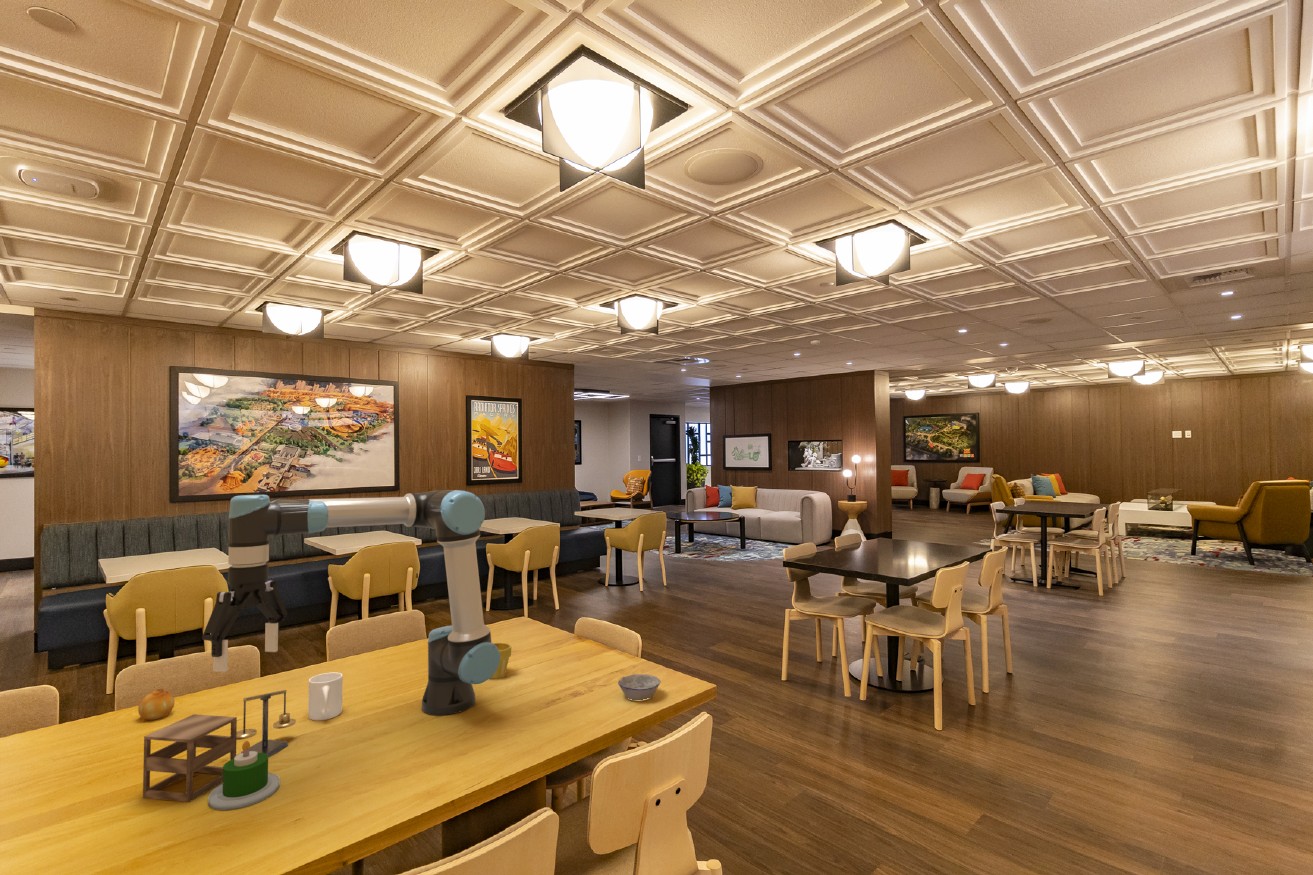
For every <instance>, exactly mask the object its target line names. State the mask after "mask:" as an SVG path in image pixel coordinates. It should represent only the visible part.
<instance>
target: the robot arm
mask: <svg viewBox="0 0 1313 875" xmlns="http://www.w3.org/2000/svg"><path fill="white" fill-rule="evenodd" d="M227 517H228V559H227V560H228V562H227V564H228V565H230V566H229V567H228V569H227V583H228V584H229V586H230V590H229V591H218V592H217V593H216V597H215V598H216V599H215V605H214V607H213V609H212V611H211V614H210V617H209V619H208V621H207V623H206V626H205V629H204V631H203V634H202V636H201V639H202V641H209V642H210V643H211V651H210V652H211V655H210V656H211V658H213V660H212V661H213V662H212V663H213V665H212V672H217V673H225V672H228V656H229V655H228V653H229V650H228V649H229V639H225V638H226V636H227V635H228V633H229V632H230V630H231V629H232V627H233V625H234V623H235V622H236V620H237V618H238V616H239V615H240V614H241V613H242V612H244V610H245V609H247V608H250V607H254V606H255V607H257V609H258V610H259V612H261V614H263V616H264V617H265V618H266V620H267V621H268V622H265V624H264V625H265V630H264V631H265V634H264V635H265V637H264V639H265V641H264V652H265V653H268V652H269V653H277V652H278V650H279V646H278V645H279V644H278V643H279V635H280V623H283V622H284V621H285V618H287V616H288V612H287V609H286V607H285V605H284V603H283V602H284V601H283V600H282V597H281V595H280V593H279V590H278V583H277V581H276V580H268V579H269V567H270V566H269V564H268V563H267V562H269V561H270V551H269V550H270V548H269V547H270V536H271V537H272V536H273V537H275V536H283V535H284V536H285V535H298V534H299V535H300V534H309V535H310V534H312V533H319V532H320V533H321V532H323V531H325V530H326V529H327V528H340V527H341V528H342V527H343V528H344V527H362V526H363V527H364V526H380V525H381V526H383V525H384V526H385V525H387V526H388V525H404V526H405V527H407V528H412V527H413V528H414V527H415V528H417V527H418V528H426V529H433V530H435V533H436V534H435V536H436V542H437V543H438V544H439V545H440V546H442V548H443V554H444V555H443V556H444V564H445V565H444V566H445V572H446V582H447V590H448V601H449V609H450V620H451V625H446V626H441V627H438V628H437V627H436V628H434V629H432V630H431V631H430V632H429V633H428V640H427V660H428V661H427V666H428V667H427V670H428V672H427V674H428V676H427V678H428V679H427V684H426V687H425V690H424V693H423V695H422V696H423V697H422V700H421V710H422V712H423V713H425V714H428V715H431V716H432V715H433V716H445V715H453V714H454V715H455V714H457V713H461V712H464V711H467V710H468V709H471V708H472V707H473V706H474V705H475V703H476V693H475V689H474V687H473V685H480V684H483V683H486V682H487V681H488V680H490V679H489V678H491V677H492V676H493V674H494V672H495V671H496V670H497V668H498V666H499V662H500V652H499V650H498V648H497V647H496V645H495V644H493V643H494V642H492V634H491V628H490V627H489V626H487V625H486V624H485V622H484V613H483V603H482V602H483V601H482V593H481V592H482V591H481V584H480V576H479V575H480V574H479V565H478V557H477V556H478V554H477V545H476V542H477V540H478V539H479V538H480V536H481V530H480V529H481V527H482V525H483V523H484V521H485V517H486V510H485V506H484V504H483V502H482V500H481V499H480V497H478V496H477V495H476V494H474V493H472V492H470V491H468V490H467V491H466V490H462V489H459V490H458V489H451V490H450V489H437V490H431V491H426V492H425V491H424V492H414V493H410V492H409V493H406V494H405V495H404V496H391V497H389V496H387V497H384V496H383V497H349V498H346V497H344V498H342V497H341V498H340V497H339V498H309V499H303V498H302V499H300V498H299V499H287V498H278V499H275V500H272V501H271V500H270V495H267V494H247V495H243V494H242V495H236V496H233V497H231V499H230V502H229V511H228V516H227Z"/></svg>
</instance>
